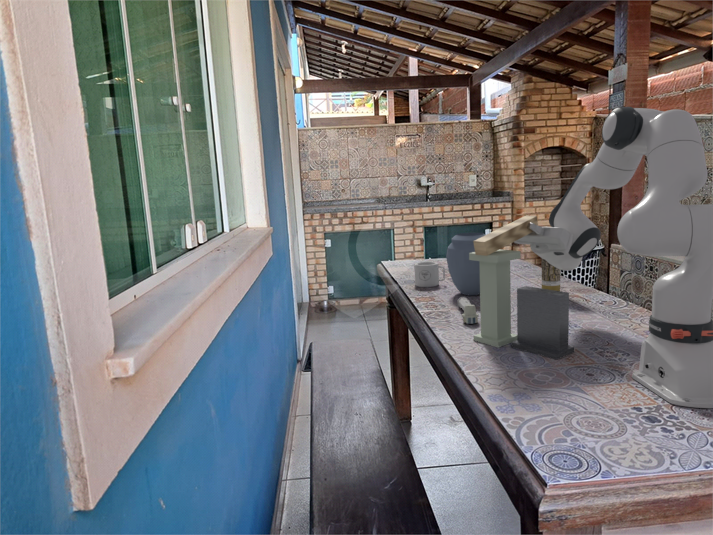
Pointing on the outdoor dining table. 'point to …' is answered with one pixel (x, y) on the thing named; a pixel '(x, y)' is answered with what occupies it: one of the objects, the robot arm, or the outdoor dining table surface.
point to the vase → (464, 263)
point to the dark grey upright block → (543, 322)
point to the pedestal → (495, 297)
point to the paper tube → (550, 276)
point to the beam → (504, 236)
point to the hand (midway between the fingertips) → (521, 224)
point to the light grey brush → (468, 310)
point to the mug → (427, 274)
